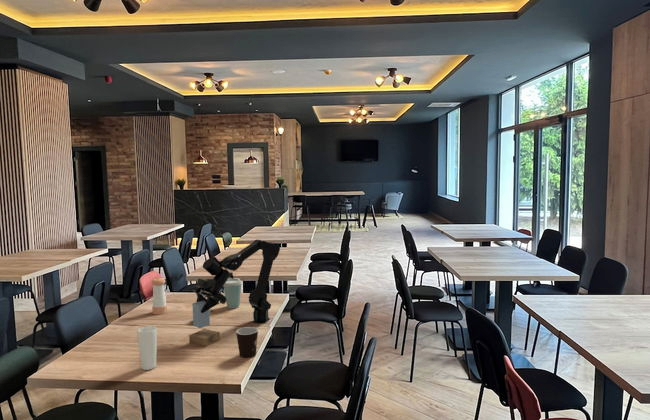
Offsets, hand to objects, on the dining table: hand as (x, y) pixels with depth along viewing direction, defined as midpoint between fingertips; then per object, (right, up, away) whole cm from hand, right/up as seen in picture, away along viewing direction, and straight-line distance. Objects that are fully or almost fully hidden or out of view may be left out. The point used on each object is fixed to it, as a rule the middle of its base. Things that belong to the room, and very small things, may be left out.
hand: (198, 311), depth 191 cm
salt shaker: (-33, -11, +44) cm, 56 cm away
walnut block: (+3, -14, +1) cm, 14 cm away
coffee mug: (+25, -14, -13) cm, 31 cm away
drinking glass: (-12, -16, -24) cm, 31 cm away
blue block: (+1, -6, +2) cm, 7 cm away
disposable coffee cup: (+4, -9, +51) cm, 52 cm away
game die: (-6, -11, +30) cm, 33 cm away
